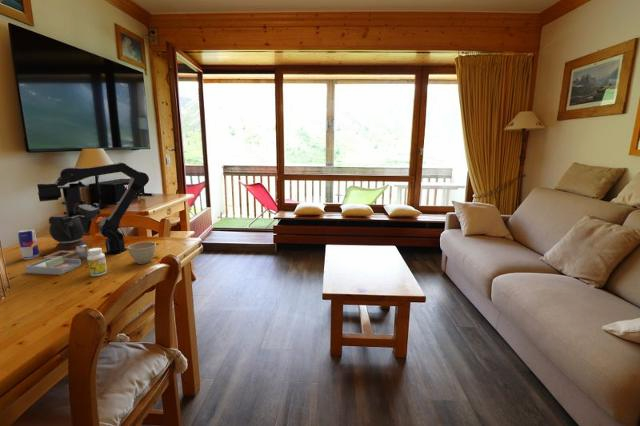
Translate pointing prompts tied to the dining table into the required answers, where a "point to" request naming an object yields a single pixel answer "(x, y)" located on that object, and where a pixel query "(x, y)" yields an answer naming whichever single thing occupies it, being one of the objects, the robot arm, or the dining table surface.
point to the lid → (52, 262)
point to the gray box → (56, 270)
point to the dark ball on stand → (64, 240)
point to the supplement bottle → (96, 262)
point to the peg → (82, 251)
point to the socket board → (63, 255)
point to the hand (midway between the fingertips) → (79, 235)
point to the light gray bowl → (142, 251)
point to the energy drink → (28, 244)
